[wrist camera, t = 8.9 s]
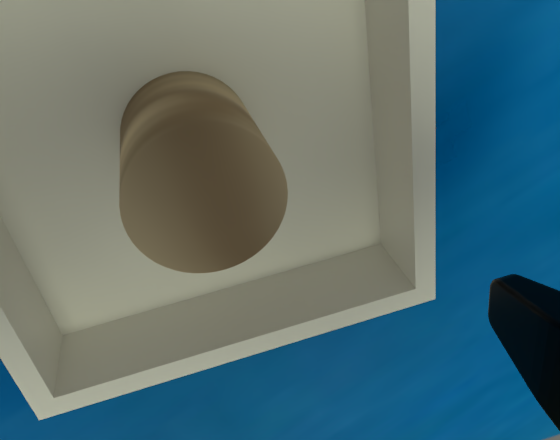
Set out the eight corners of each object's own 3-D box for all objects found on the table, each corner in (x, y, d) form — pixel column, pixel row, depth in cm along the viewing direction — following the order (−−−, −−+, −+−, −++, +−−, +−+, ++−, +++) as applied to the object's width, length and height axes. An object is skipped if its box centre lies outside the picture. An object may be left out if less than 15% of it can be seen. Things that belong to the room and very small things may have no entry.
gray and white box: (51, 342, 22) (38, 420, 18) (-169, -68, 14) (-262, -60, 11) (391, 244, 24) (435, 298, 20) (369, -164, 16) (435, -184, 12)
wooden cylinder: (142, 207, 19) (148, 291, 15) (101, 88, 17) (94, 148, 12) (260, 176, 20) (298, 249, 15) (237, 57, 17) (273, 105, 13)
